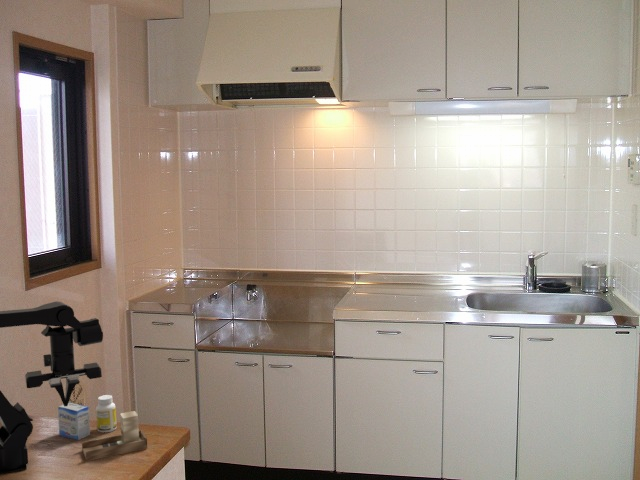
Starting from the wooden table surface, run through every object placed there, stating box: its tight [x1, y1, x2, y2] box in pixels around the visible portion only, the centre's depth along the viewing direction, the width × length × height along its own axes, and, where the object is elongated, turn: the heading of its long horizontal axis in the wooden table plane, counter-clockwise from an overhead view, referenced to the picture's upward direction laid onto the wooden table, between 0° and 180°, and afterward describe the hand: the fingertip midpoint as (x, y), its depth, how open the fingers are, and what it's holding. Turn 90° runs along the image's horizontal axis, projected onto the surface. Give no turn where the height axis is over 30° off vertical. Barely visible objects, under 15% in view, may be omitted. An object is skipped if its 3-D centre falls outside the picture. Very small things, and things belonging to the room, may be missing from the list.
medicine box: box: [57, 402, 91, 441], centre depth 196 cm, size 8×4×9 cm, turn 62°
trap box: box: [81, 428, 148, 462], centre depth 186 cm, size 16×7×3 cm, turn 117°
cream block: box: [119, 410, 140, 444], centre depth 187 cm, size 4×4×8 cm
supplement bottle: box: [95, 394, 117, 433], centre depth 199 cm, size 5×5×10 cm
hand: (65, 405), depth 183 cm, fingers closed
